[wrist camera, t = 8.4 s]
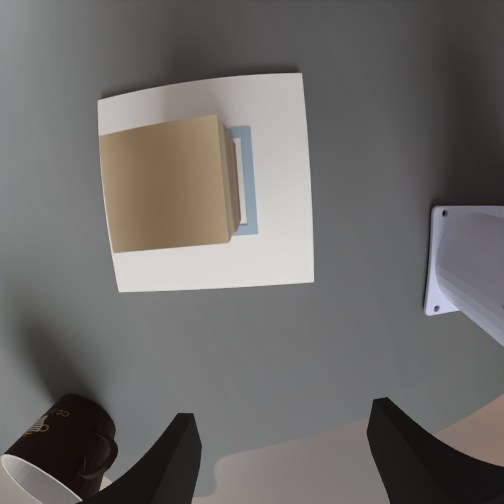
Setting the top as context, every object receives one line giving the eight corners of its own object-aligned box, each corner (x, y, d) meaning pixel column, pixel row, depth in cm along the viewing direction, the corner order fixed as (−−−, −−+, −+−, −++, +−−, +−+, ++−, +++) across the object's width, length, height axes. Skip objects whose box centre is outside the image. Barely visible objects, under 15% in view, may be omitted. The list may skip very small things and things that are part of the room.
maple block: (227, 129, 14) (216, 114, 10) (236, 223, 15) (229, 242, 11) (136, 142, 14) (98, 136, 10) (146, 232, 15) (113, 253, 11)
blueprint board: (300, 75, 17) (301, 72, 17) (312, 278, 21) (314, 282, 20) (101, 102, 18) (97, 100, 17) (122, 288, 21) (118, 292, 20)
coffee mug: (70, 441, 26) (34, 504, 16) (37, 380, 24) (-16, 443, 14) (165, 454, 25) (142, 536, 16) (139, 390, 23) (96, 480, 14)
